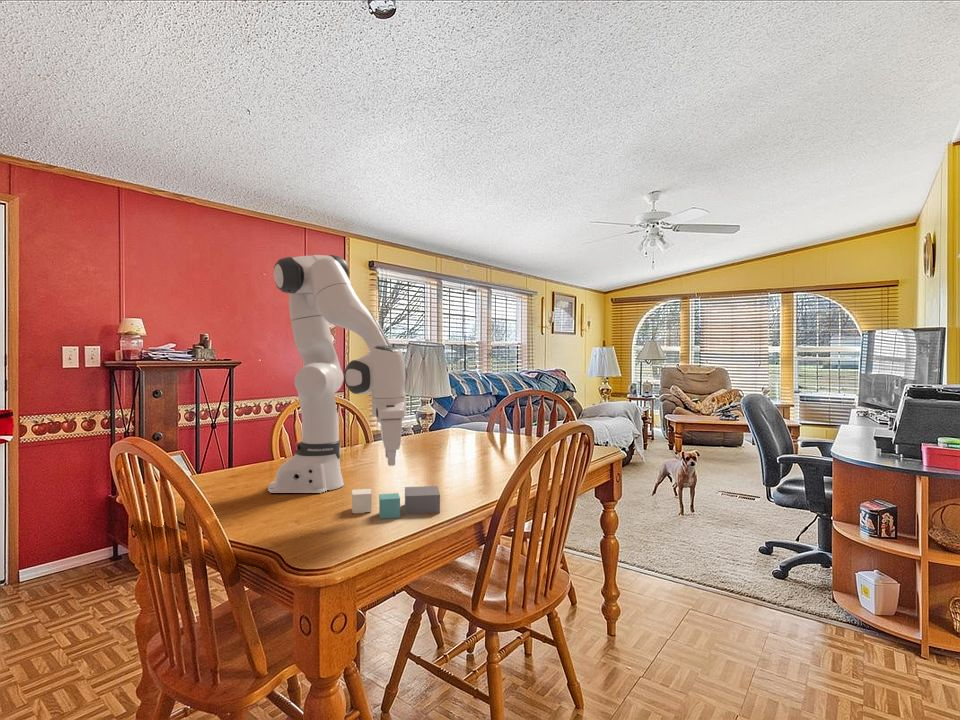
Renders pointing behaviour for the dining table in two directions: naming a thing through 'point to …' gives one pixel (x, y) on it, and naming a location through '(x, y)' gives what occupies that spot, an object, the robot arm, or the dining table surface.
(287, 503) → the dining table surface
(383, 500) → the teal cube
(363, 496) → the cream cube
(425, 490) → the charcoal base block
